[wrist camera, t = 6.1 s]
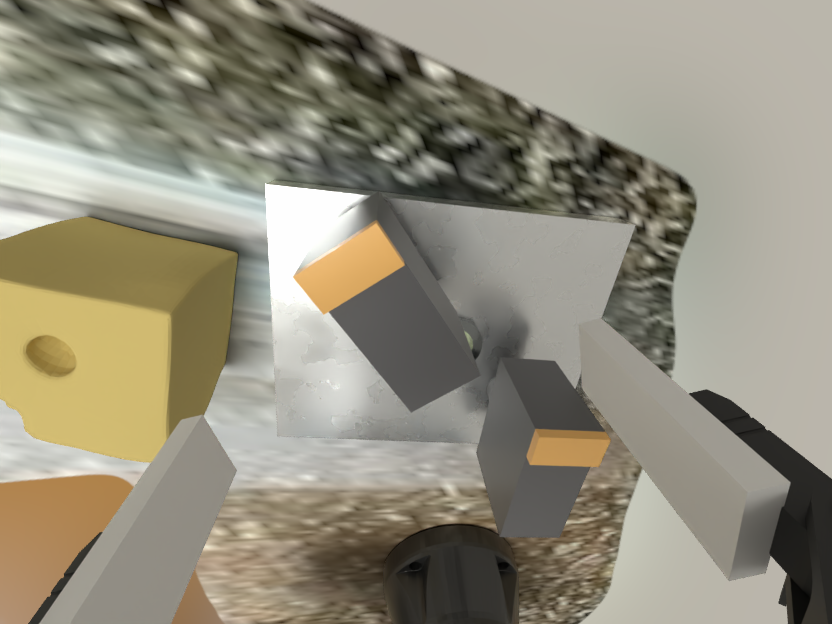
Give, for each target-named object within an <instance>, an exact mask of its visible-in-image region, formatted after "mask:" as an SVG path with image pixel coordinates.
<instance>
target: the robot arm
mask: <svg viewBox="0 0 832 624" xmlns="http://www.w3.org/2000/svg"><path fill="white" fill-rule="evenodd" d="M579 342H580V360H581V378H582V389H583V391H584V392H585V393H586V395H587V396H588V397H589V399H590V400H591V401H592V402H593V404H594V405H595V406H596V408H597V409H598V410H599V412H600V413H601V414H602V416H603V417H604V418H605V419H606V421H607V422H608V423H609V425H610V426H611V427H612V429H613V430H614V431H615V433H616V434H617V435H618V436H619V438H620V439H621V440H622V442H623V443H624V444H625V446H626V447H627V448H628V450H629V451H630V452H631V453H632V455H633V456H634V457H635V459H636V460H637V461H638V463H639V464H640V465H641V467H642V468H643V469H644V470H645V472H646V473H647V474H648V476H649V477H650V478H651V479H652V481H653V482H654V483H655V485H656V486H657V487H658V489H659V490H660V491H661V493H662V494H663V495H664V497H665V498H666V499H667V500H668V501H669V503H670V504H671V506H672V507H673V508H674V510H675V511H676V512H677V514H678V515H679V516H680V517H681V519H682V520H683V521H684V523H685V524H686V525H687V527H688V528H689V529H690V530H691V532H692V533H693V534H694V536H695V537H696V538H697V540H698V541H699V542H700V544H701V545H702V546H703V548H704V549H705V550H706V551H707V553H708V554H709V555H710V556H711V558H712V559H713V561H714V562H715V563H716V565H717V566H718V567H719V568H720V570H721V571H722V572H723V574H724V575H725V576H726V578H727V579H728V580H729V581H731V580H736V579H740V578H745V577H750V576H754V575H759V574H763V573H766V570H767V567H768V563H769V559H770V556H772V557H773V558H774V560H775V561H776V562H777V563H778V564H779V565H780V566H781V567H782V568H783V569H784V571H785V572H786V573H787V576H786V579H785V582H784V585H783V588H782V592H781V595H780V599H779V604H781V605H783V606H786V604H787V615H788V624H832V479H831V478H830V477H828V476H827V475H826V474H825V473H823V472H822V471H821V470H819V469H818V468H817V467H815V466H814V465H813V464H812V463H810V462H809V461H808V460H807V459H805V458H804V457H803V456H802V455H800V454H799V453H798V452H796V451H795V450H794V449H793V448H791V447H790V446H789V445H787V444H786V443H785V442H783V441H782V440H781V439H780V438H779V437H777V436H776V435H775V434H773V433H772V432H771V431H769V430H768V431H767V430H766V429H765V427H764V426H763V425H762V424H761V423H759V422H758V421H757V420H755V419H754V418H751V417H750V416H749V414H748V413H746V412H745V411H744V410H742V409H741V408H740V407H739V406H737V405H736V404H735V403H734V402H732V401H731V400H729V399H727V398H725V397H723V396H720V395H718V394H716V393H713V392H711V391H709V390H702V391H698V392H693V393H689V394H688V393H687V392H686V391H684V390H683V389H682V388H681V387H680V386H679V385H678V384H676V383H675V382H674V381H673V380H672V379H671V378H670V377H668V376H667V375H666V374H665V373H664V372H663V371H661V370H660V369H659V368H658V367H657V366H656V365H655V364H653V363H652V362H651V361H650V360H649V359H648V358H646V357H645V356H644V355H643V354H642V353H641V352H640V351H638V350H637V349H636V348H635V347H634V346H633V345H632V344H630V343H629V342H628V341H627V340H626V339H625V338H623V337H622V336H621V335H620V334H619V333H618V332H617V331H615V330H614V329H613V328H612V327H611V326H610V325H608V324H607V323H606V322H605V321H604V320H603V319H602V318H600V319H596V320H592V321H587V322H583V323H579ZM236 471H237V470H236V468H235V467H234V465H233V464H232V462H231V460H230V459H229V457H228V455H227V454H226V452H225V451H224V449H223V447H222V446H221V444H220V442H219V441H218V439H217V437H216V436H215V434H214V433H213V431H212V429H211V428H210V426H209V424H208V423H207V421H206V420H205V418H204V416H203V415H199V416H194V417H190V418H186V419H182V420H181V421H180V422H179V424H178V425H177V426H176V428H175V429H174V431H173V432H172V434H171V435H170V436H169V438H168V439H167V441H166V442H165V444H164V445H163V447H162V448H161V449H160V451H159V452H158V454H157V455H156V457H155V458H154V459H153V461H152V462H151V464H150V465H149V467H148V468H147V470H146V471H145V472H144V474H143V475H142V477H141V478H140V480H139V481H138V482H137V484H136V485H135V487H134V488H133V490H132V491H131V492H130V494H129V495H128V497H127V498H126V500H125V501H124V503H123V504H122V505H121V507H120V508H119V510H118V511H117V513H116V514H115V516H114V517H113V518H112V520H111V521H110V523H109V524H108V526H107V527H106V529H105V530H104V531H103V532H100V533H99V534H98V535H97V536H96V537H95V538H94V539H93V540H92V541H91V542H90V543H89V544H88V545H87V546H86V547H85V548H84V549H83V550H82V551H81V552H80V553H79V554H78V555H77V557H76V558H75V559H74V561H73V562H72V564H71V565H70V566H69V568H68V569H67V571H66V572H65V573H64V578H61V579H60V580H59V582H58V583H57V585H56V586H55V587H54V589H53V590H52V592H51V596H50V597H47V598H46V600H45V601H44V603H43V604H42V605H41V607H40V608H39V610H38V611H37V612H36V614H35V615H34V617H33V618H32V619H31V621H30V622H29V623H28V624H171V622H172V620H173V618H174V615H175V613H176V611H177V608H178V606H179V604H180V601H181V599H182V597H183V594H184V592H185V590H186V588H187V585H188V583H189V581H190V578H191V576H192V574H193V571H194V569H195V567H196V564H197V562H198V560H199V557H200V555H201V553H202V550H203V548H204V546H205V543H206V541H207V539H208V536H209V534H210V532H211V529H212V527H213V525H214V522H215V520H216V518H217V515H218V513H219V511H220V508H221V506H222V504H223V501H224V499H225V497H226V494H227V492H228V490H229V487H230V485H231V483H232V481H233V478H234V476H235V474H236ZM383 591H384V598H385V601H386V605H387V608H388V611H389V615H390V618H391V622H392V624H519V574H518V569H517V565H516V562H515V558H514V555H513V552H512V549H511V547H510V545H509V544H508V543H507V542H506V541H505V540H504V539H503V538H502V537H500V536H499V535H497V534H496V533H494V532H492V531H489V530H486V529H483V528H479V527H474V526H464V525H454V526H443V527H438V528H433V529H429V530H426V531H423V532H420V533H418V534H416V535H413V536H411V537H410V538H408V539H406V540H405V541H403V542H402V543H400V544H399V545H398V546H397V547H396V548H395V549H394V550H393V551H392V552H391V553H390V554H389V556H388V558H387V559H386V562H385V564H384V569H383Z"/></svg>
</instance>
